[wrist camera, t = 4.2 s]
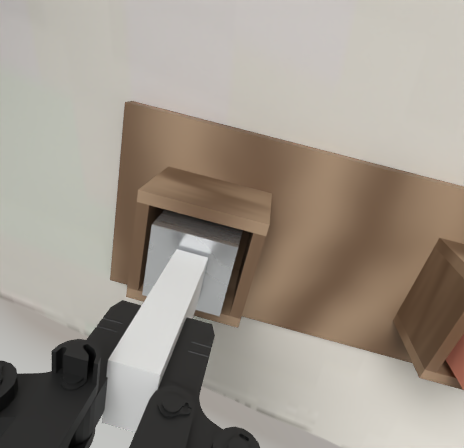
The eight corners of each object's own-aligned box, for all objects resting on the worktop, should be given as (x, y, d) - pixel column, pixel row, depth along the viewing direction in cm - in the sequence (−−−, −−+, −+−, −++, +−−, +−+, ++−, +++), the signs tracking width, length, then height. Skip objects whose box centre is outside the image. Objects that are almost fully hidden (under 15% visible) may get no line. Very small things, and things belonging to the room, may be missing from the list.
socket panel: (116, 272, 24) (73, 323, 19) (132, 101, 19) (79, 108, 14) (497, 376, 23) (557, 458, 18) (620, 226, 18) (749, 283, 13)
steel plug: (172, 248, 21) (142, 295, 16) (182, 190, 19) (151, 224, 15) (232, 264, 21) (219, 316, 16) (248, 207, 19) (238, 247, 15)
